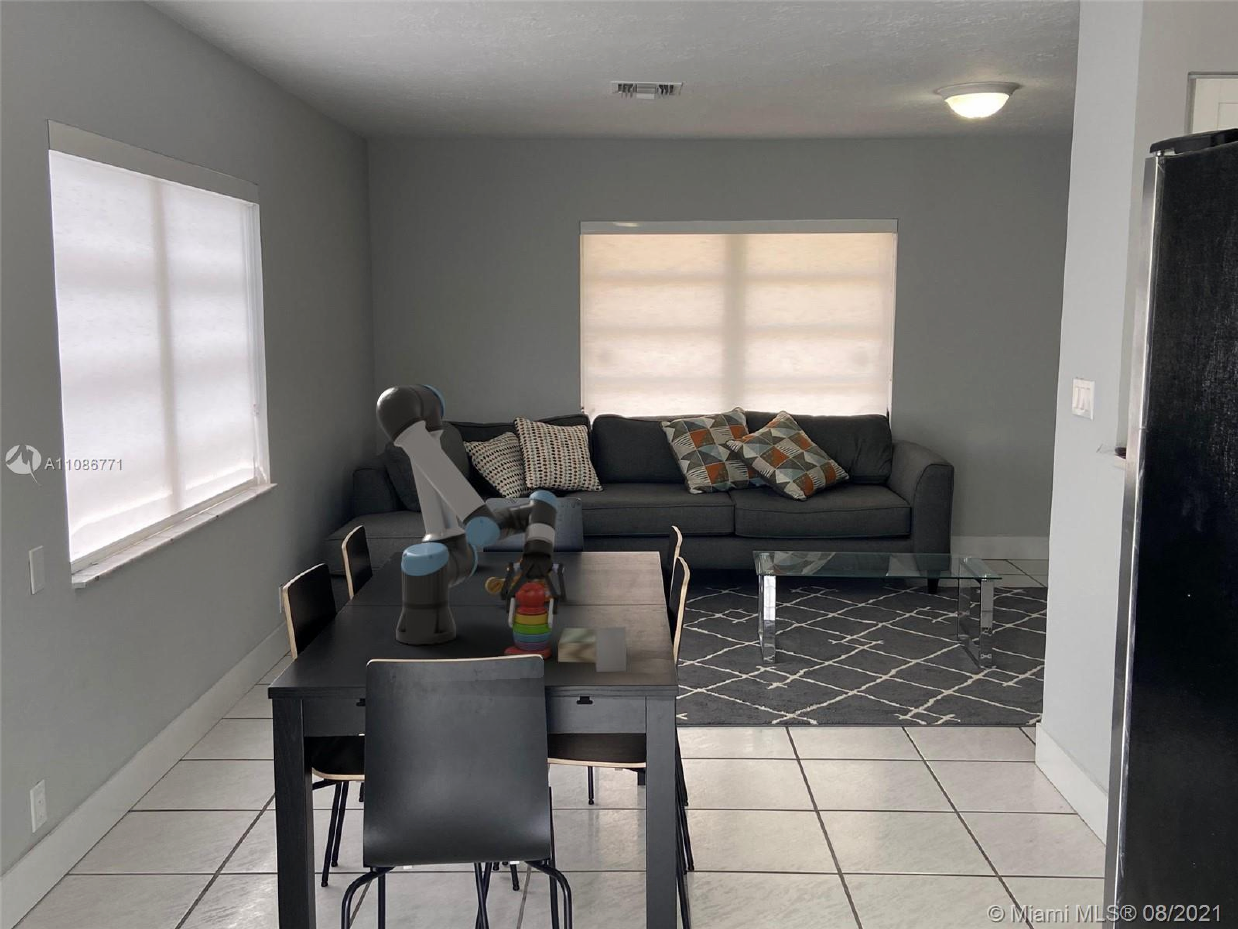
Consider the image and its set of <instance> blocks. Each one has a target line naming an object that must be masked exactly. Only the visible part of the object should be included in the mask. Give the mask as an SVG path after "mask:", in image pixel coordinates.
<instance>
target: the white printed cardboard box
mask: <svg viewBox="0 0 1238 929" xmlns="http://www.w3.org/2000/svg"><path fill="white" fill-rule="evenodd" d="M595 629H596V663H595V670H596V673H605V672H611V673H612V672H626V671H627V633H626V626H596V627H595Z"/></svg>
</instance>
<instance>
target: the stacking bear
mask: <svg viewBox="0 0 1238 929" xmlns="http://www.w3.org/2000/svg"><path fill="white" fill-rule="evenodd" d="M545 597H546V593H545V590H544V588H543V587H542V584H541V583H540V582H536V583H527V584H525V585H523V586H522V587H521V588H520V590H519V591H518V592H517V593H516V598H515V600H516V601H517V603H518V605H519V606H518V607H517V609H515V611H516V612H515V613H514V621H513V627H512V636H513V641H514V646H510V647H508V648H506V649H505V650H504V654H542V655H543V656H544V659H547V658H548V657H550V656H551V655H552V651H551V648H550V646H549V645H550V641H551V637H552V629H553V627H552V628H549V626H548V616H549V610H547V607H546V606H544V605H545V602H544V601H545ZM504 654H503V655H504ZM544 659H543V660H544Z"/></svg>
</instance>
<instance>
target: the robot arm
mask: <svg viewBox="0 0 1238 929" xmlns="http://www.w3.org/2000/svg"><path fill="white" fill-rule="evenodd" d="M375 411H376V413H375V414H376V418H377V421H378V423H379V425H380V427H381V429H382V430H383V432H384V433H385V435H386V436H387V438H388V439H389V440H390V441H391V442H392V443H393V445H394V446H395V447H401V449H403V451H404V452H405V453H406V455H407V456H408V457H409V459H410V464H411V468H412V474H413V478H414V483H415V487H416V491H417V496H418V500H419V505H420V508H421V509H420V510H421V514H422V519H423V523H424V530H425V535H424V537H422V539H421V542H422V543H419V544H414V545H410V546H409V547H407V548H406V549H404V551H403V553H402V556H401V557H402V558H401V563H400V565H401V568H400V569H401V581H402V582H401V585H402V586H401V587H402V588H401V589H402V590H401V591H402V593H401V594H402V610H401V612H400V615H399V620H398V622H397V626H396V629H395V638H396V640H397V641H398V642H400V643H403V644H407V643H408V644H407V645H415V646H418V645H419V646H421V645H422V644H429V645H436V644H435V643H438V644H442V643H443V644H444V643H446V641H447V642H450V641H452V640H454V639H455V638H456V637H457V626H456V624H455V620H454V617H453V614H452V611H451V609H450V596H449V595H450V594H449V593H450V589H451V588H452V587H454V586H457V585H459V584H462V583H463V582H465V581H467V580H468V579H469V578H470V577H471V576H472V575H473V574H474V573H475V571H476V569H477V567H478V566H477V565H478V563H479V562H478V561H479V560H478V559H479V558H478V552H477V549H476V548H485V547H490V546H492V545H494V544H496V543H498V542H499V541H502V540H504V539H507V538H509V537H512V536H515V535H517V536H518V535H521V534H524V540H523V541H524V542H523V543H524V544H523V548H522V549H523V550H522V551H523V552H522V557H521V558H522V560H521V559H520V560H521V562H520V561H519V562H520V563H519V562H516V563H514V562H513V561H510V562H508V567H509V571H508V570H507V574H506V576H505V578H504V579H505V581H504V584H503V586H502V589H501V591H500V592H499V596H500V600H501V601H505V603H506V604H505V612H506V614H508V622H507V623H508V626H509V628H513V622H514V618H515V614H516V612H515V611H516V593H517V592H518V591H519V590H520V588H521V587H522V586H523V585H525V583H527V582H528V580H529V579H530V580H533V579H538V580H544V582H545V584H546V586H547V588H548V590H549V592H550V594H551V596H552V599H550V601H549V608H548V609H549V610H548V612H549V616H548V626H549V628H552V629H553V621H554V615H558V614H559V605H560V603H565V602H567V599H568V598H567V591H566V587H565V582H564V581H565V580H564V574H565V573H564V572H565V566H564V562H559V563H558V564H557V563H554V562H553V557H554V549H555V548H554V547H555V537H556V536H555V535H556V525H557V519H558V518H557V517H558V513H559V512H558V499H557V496H556V495H555V494H553V492H550V491H548V490H536V491H534V492H533V493H531V494H530V495H529V499H528V502H524V503H521V504H516V505H510V506H506V507H500V508H495V509H492V510H491V509H490V507H489V506H488V505H487V504H486V502H485V501H484V500H483V498H482V497H481V495H479V494H478V492H477V491H476V490H475V488H474V487H473V486H472V484H470V482H469V481H468V480H467V478H466V477H465V476H464V475H463V473H462V472H461V471H460V470H459V469H458V467H457V466H456V465H455V464H454V462H453V461H452V460H451V458H449V456H448V455H447V453H445V451H444V450H443V449H442V445H441V440H440V438H441V436H442V435H443V433H444V427H443V423H442V421H443V419H444V416H445V415H446V402H445V400H444V397H443V396H442V394H441V393H440V392H439V391H438V390H437V389H436V388H434V387H433V386H431V385H427V384H420V383H415V384H408V385H396V386H392V387H390V388H388V389H386V390H384V391H383V393H381V395H380V396H379V398H378V399H377V403H376V409H375ZM458 520H460V522H461V523H462V524H463V526H464V527H465V529H463V528H461V527H460V526H459V523H458ZM519 569H520V571H523V572H522V573H521V576H520V577H519V579H518V580H517V582H516V583H515V585H514V586H513V587H512V589H510V587H511V584H512V582H513V579H514V577H516V576H515V575H516V574H517V572H518V571H519ZM553 570H554V571H555V574H557V577H558V578H557V580H558V584H559V586H558V587H559V590H560V594H558V593H557V591H556V590H557V589H556V588H555V585H554V584H553V582H552V579H550V577H549V575H548V574H549V573H550V572H551V573H552V571H553ZM449 640H450V641H449ZM420 644H421V645H420ZM422 646H423V645H422Z"/></svg>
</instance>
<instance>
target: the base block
mask: <svg viewBox="0 0 1238 929" xmlns="http://www.w3.org/2000/svg"><path fill="white" fill-rule="evenodd" d="M557 662H558V663H595V664H596V628H579V627H578V628H571V627H565V628H564V629H563V631H562V633H561V634H560V638H559V640H558V643H557Z"/></svg>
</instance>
